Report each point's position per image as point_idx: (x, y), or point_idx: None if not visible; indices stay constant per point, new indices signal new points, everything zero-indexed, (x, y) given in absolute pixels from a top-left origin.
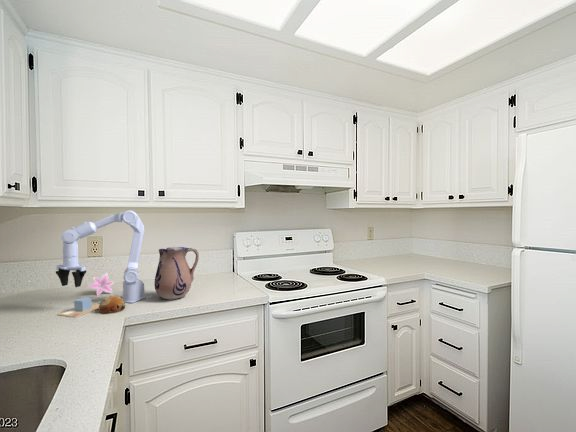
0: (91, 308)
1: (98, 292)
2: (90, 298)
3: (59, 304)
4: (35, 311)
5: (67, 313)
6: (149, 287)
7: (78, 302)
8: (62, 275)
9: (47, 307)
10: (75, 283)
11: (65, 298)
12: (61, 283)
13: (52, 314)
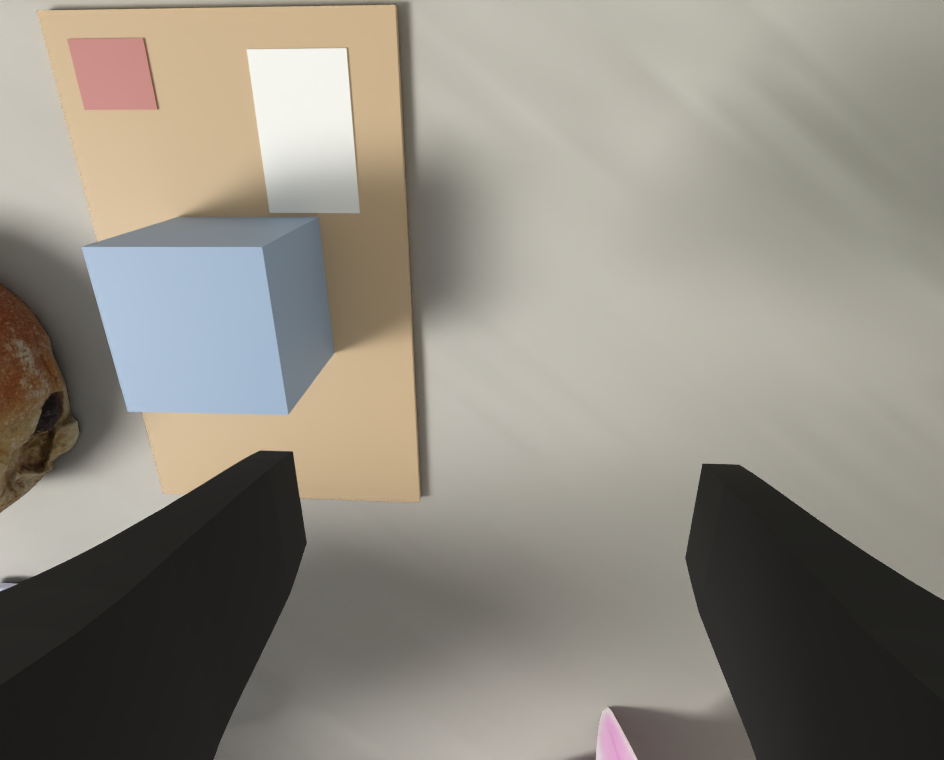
0: None
1: (619, 752)
2: (130, 399)
3: (798, 388)
4: (912, 47)
5: (285, 86)
6: None
7: (180, 240)
8: (876, 737)
9: (870, 249)
10: (208, 489)
11: (921, 580)
12: (771, 492)
13: (500, 13)
